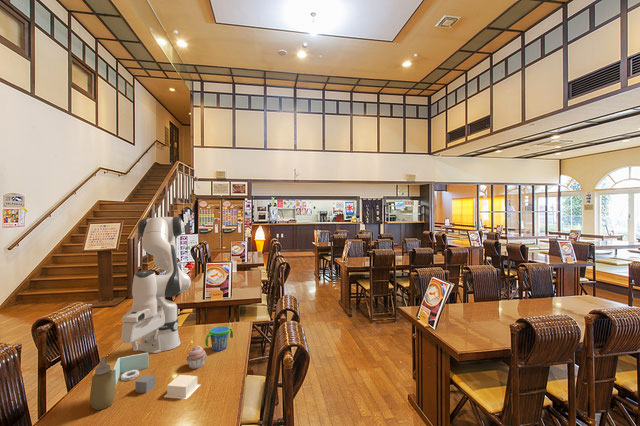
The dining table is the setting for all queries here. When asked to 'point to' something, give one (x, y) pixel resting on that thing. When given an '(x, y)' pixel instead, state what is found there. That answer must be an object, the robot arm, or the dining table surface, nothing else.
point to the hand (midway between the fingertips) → (145, 344)
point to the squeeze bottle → (102, 386)
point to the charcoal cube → (145, 383)
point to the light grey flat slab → (182, 397)
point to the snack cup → (219, 337)
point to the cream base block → (182, 386)
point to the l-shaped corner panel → (130, 366)
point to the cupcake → (196, 357)
